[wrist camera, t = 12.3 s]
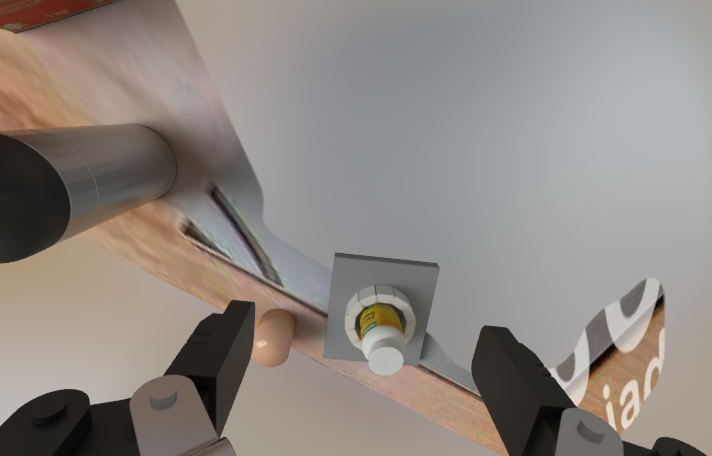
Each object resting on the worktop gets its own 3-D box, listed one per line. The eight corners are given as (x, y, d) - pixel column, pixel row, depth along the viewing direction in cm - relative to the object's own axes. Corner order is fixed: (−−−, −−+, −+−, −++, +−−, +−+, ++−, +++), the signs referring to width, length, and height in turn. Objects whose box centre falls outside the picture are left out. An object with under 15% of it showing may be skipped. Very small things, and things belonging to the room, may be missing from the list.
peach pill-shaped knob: (260, 336, 51) (248, 365, 45) (261, 307, 49) (249, 332, 43) (294, 339, 51) (287, 368, 45) (296, 310, 49) (290, 336, 44)
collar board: (323, 351, 52) (322, 370, 48) (335, 252, 47) (333, 265, 43) (416, 359, 53) (421, 378, 49) (436, 263, 48) (444, 276, 44)
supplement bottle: (387, 336, 49) (396, 387, 40) (353, 323, 48) (354, 372, 39) (404, 306, 48) (418, 351, 39) (369, 292, 47) (375, 335, 38)
